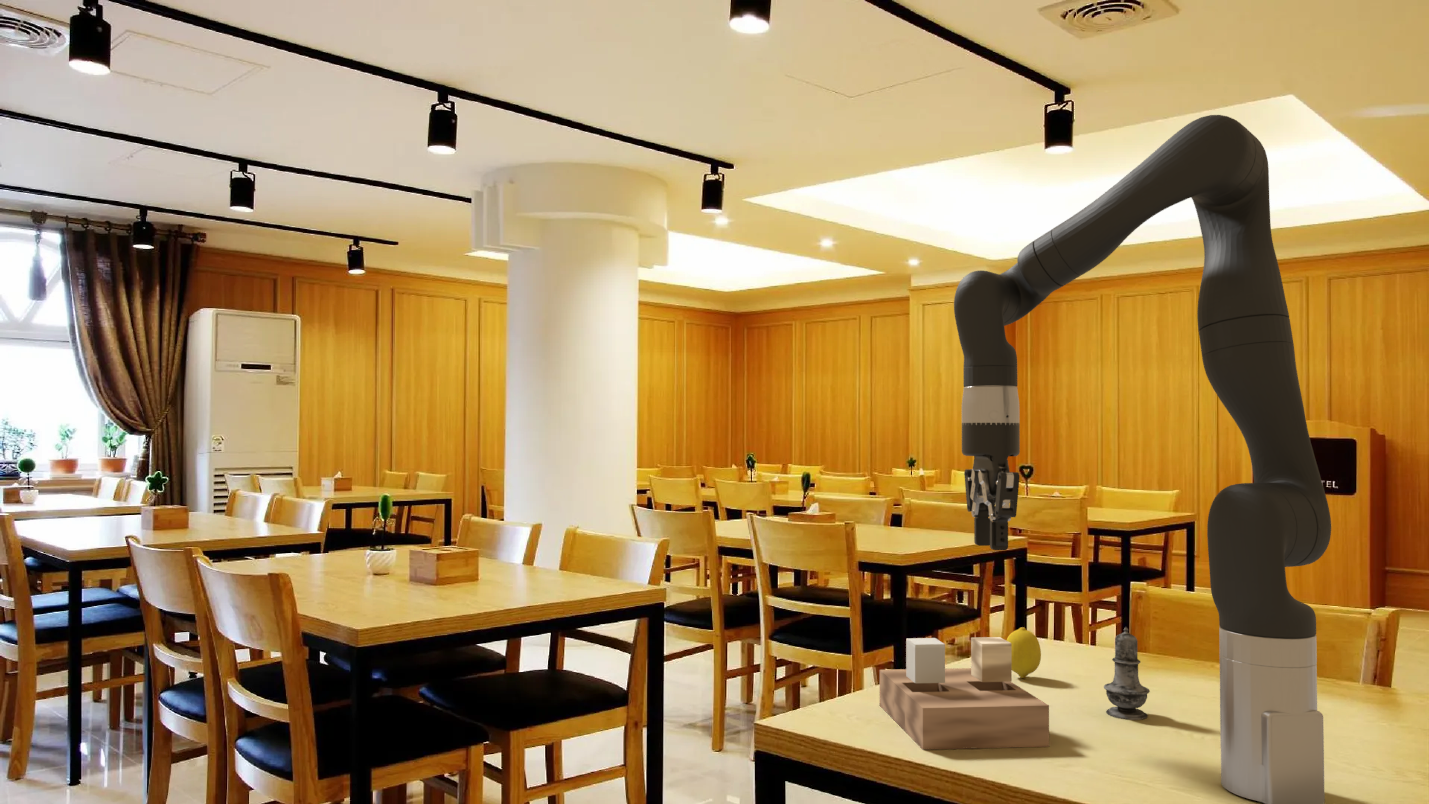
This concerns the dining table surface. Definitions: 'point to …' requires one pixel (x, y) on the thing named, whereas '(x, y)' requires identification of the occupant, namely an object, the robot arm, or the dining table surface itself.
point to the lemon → (1024, 652)
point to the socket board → (964, 711)
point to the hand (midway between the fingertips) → (990, 546)
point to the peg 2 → (991, 659)
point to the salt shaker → (1126, 680)
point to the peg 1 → (925, 660)
